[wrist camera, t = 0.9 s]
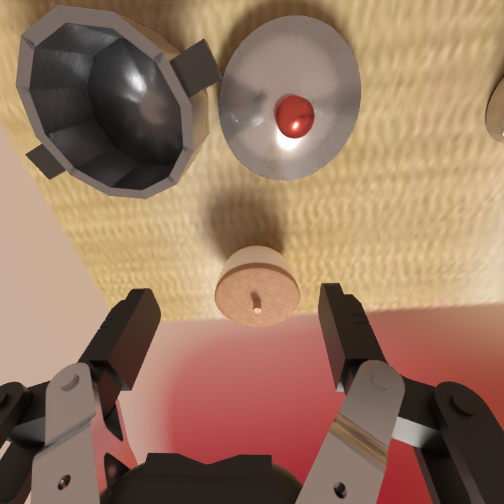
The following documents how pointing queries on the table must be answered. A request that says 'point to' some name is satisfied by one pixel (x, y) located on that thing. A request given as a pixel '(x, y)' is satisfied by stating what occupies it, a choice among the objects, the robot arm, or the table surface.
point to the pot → (113, 100)
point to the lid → (289, 97)
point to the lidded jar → (257, 287)
